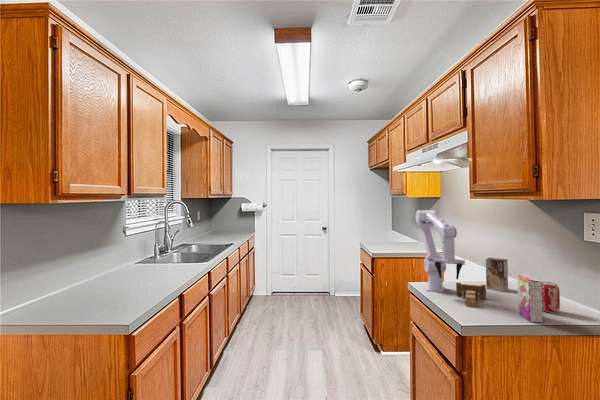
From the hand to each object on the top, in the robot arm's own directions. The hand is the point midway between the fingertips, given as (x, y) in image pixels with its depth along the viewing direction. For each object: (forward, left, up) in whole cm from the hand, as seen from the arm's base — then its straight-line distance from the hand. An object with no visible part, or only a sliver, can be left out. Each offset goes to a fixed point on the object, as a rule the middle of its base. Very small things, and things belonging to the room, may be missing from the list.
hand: (448, 278), depth 171 cm
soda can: (+5, +40, -10) cm, 41 cm away
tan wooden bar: (+5, +10, -10) cm, 14 cm away
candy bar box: (+18, +32, -10) cm, 38 cm away
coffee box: (-26, +21, -10) cm, 35 cm away
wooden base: (-3, +10, -9) cm, 14 cm away
